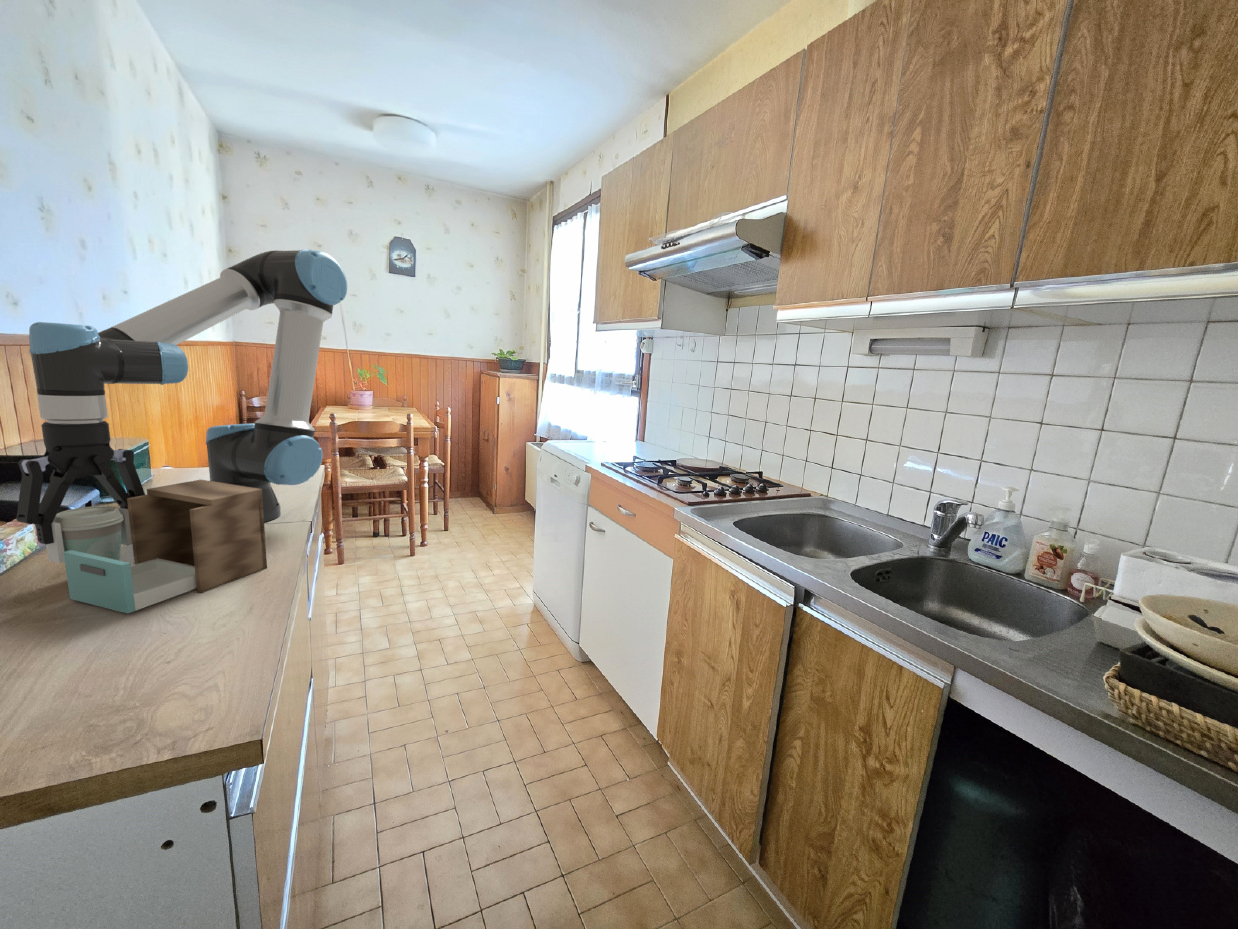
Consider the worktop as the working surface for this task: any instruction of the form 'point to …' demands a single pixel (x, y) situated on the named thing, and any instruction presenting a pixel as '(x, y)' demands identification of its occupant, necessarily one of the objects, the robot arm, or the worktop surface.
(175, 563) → the teal drawer
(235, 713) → the worktop surface
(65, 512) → the coffee cup
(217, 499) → the cubby
